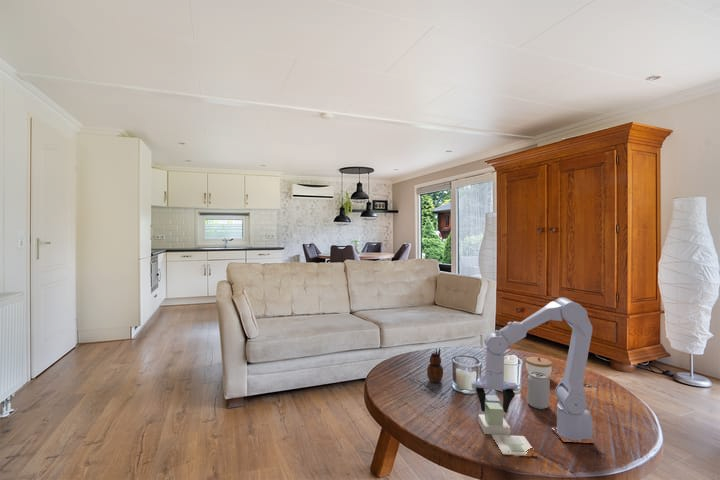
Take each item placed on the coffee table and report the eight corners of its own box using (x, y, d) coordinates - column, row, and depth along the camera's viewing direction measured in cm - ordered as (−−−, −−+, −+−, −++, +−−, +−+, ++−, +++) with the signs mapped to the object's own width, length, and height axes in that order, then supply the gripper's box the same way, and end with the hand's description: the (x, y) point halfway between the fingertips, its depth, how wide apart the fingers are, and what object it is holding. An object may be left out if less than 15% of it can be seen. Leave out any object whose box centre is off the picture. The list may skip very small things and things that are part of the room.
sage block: (498, 417, 122) (498, 402, 122) (502, 424, 117) (503, 409, 117) (484, 416, 122) (485, 402, 122) (489, 423, 118) (489, 408, 118)
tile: (524, 437, 114) (524, 435, 114) (537, 457, 104) (537, 454, 104) (492, 436, 115) (492, 433, 115) (502, 455, 105) (502, 452, 105)
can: (551, 405, 137) (552, 374, 136) (545, 412, 131) (546, 379, 131) (530, 399, 142) (531, 368, 142) (524, 405, 136) (524, 374, 136)
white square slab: (501, 423, 124) (501, 415, 124) (510, 436, 116) (510, 427, 116) (478, 422, 124) (478, 414, 124) (484, 435, 116) (484, 426, 116)
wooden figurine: (444, 381, 158) (445, 347, 158) (440, 385, 153) (440, 350, 153) (430, 377, 162) (430, 344, 162) (425, 381, 157) (425, 347, 157)
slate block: (496, 408, 134) (496, 395, 134) (500, 414, 129) (500, 400, 129) (483, 408, 134) (484, 394, 134) (487, 414, 130) (487, 400, 130)
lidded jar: (524, 378, 162) (524, 358, 162) (527, 371, 171) (527, 351, 171) (550, 384, 156) (551, 362, 156) (552, 376, 165) (553, 355, 165)
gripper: (512, 366, 123) (511, 405, 123) (469, 365, 124) (468, 404, 124) (520, 374, 116) (519, 416, 116) (474, 373, 117) (474, 414, 117)
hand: (493, 410), depth 120 cm, fingers open, 7 cm apart
